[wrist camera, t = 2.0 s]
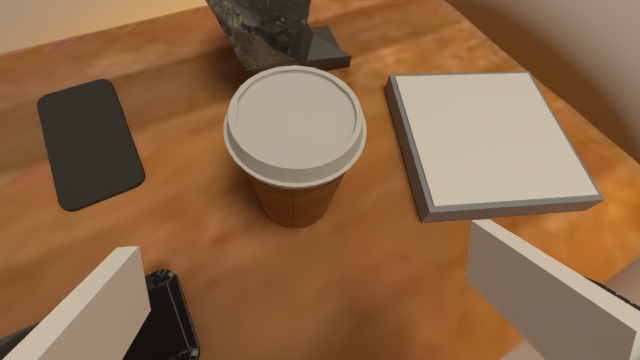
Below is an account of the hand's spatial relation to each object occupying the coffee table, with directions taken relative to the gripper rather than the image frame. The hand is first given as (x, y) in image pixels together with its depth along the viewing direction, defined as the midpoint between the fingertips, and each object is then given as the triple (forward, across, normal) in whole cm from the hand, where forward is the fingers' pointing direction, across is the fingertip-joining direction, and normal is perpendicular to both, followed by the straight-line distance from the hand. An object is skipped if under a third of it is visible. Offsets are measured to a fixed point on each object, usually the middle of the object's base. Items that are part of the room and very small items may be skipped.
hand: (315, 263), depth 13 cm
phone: (+24, -20, +2) cm, 32 cm away
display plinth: (+22, +20, 0) cm, 30 cm away
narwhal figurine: (+30, 0, +9) cm, 32 cm away
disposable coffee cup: (+18, 0, -3) cm, 19 cm away
